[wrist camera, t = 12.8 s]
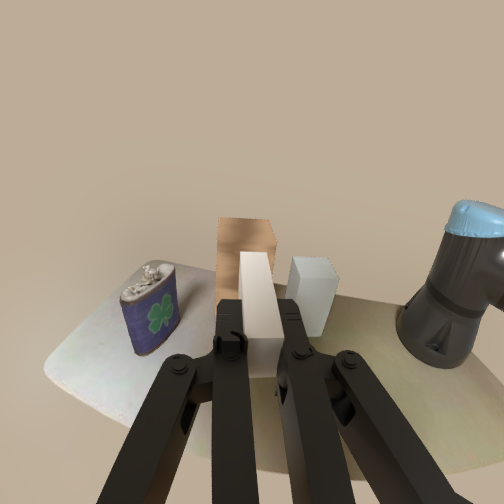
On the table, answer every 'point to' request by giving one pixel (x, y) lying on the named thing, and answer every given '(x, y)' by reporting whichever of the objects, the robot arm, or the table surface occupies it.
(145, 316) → the flask
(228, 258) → the plain block
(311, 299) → the number block
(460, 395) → the table surface
